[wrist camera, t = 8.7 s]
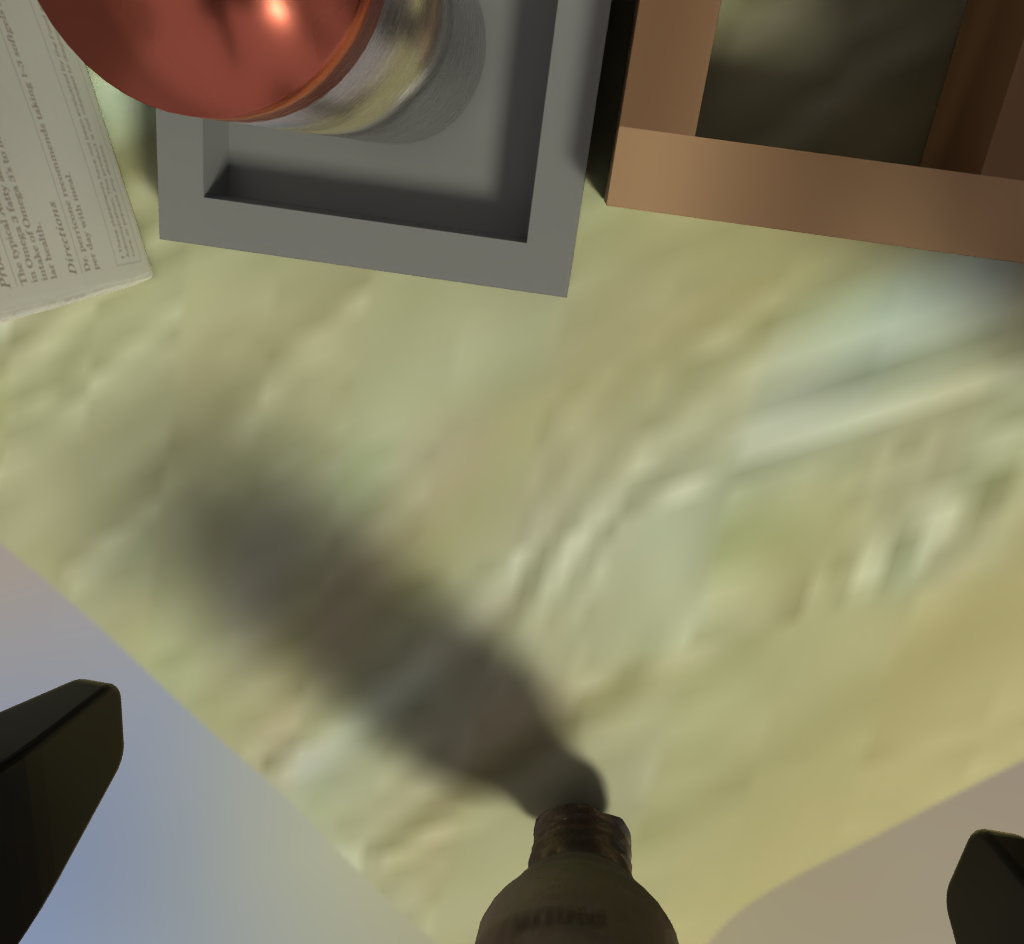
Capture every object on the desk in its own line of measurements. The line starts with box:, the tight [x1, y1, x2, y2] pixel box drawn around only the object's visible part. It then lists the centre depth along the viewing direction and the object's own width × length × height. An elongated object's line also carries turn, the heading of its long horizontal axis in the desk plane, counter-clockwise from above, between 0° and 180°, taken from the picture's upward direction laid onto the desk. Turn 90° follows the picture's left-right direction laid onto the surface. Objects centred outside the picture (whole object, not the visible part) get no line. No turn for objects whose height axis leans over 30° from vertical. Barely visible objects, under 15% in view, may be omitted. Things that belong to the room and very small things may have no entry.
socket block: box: [604, 0, 1024, 263], centre depth 15 cm, size 8×8×3 cm
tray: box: [156, 0, 612, 298], centre depth 16 cm, size 9×9×2 cm
